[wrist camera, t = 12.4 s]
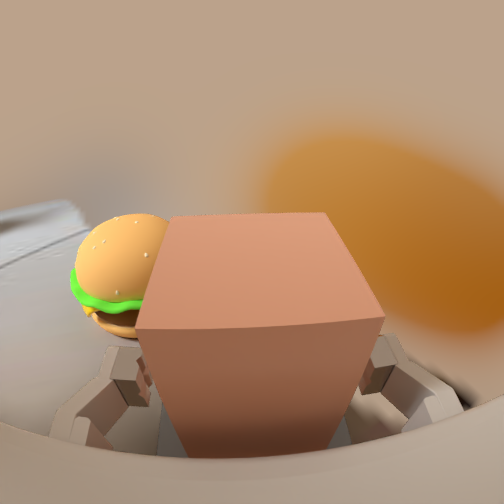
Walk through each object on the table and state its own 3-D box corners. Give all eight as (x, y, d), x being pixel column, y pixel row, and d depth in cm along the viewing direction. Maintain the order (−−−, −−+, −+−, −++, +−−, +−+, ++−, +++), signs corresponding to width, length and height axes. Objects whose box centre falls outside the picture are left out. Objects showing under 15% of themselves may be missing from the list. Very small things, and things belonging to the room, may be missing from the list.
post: (301, 491, 13) (385, 316, 6) (210, 497, 13) (134, 328, 6) (289, 421, 17) (324, 212, 10) (210, 425, 17) (171, 216, 10)
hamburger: (103, 271, 33) (85, 201, 28) (205, 266, 34) (199, 191, 29) (70, 349, 23) (32, 267, 18) (204, 350, 24) (191, 259, 19)
